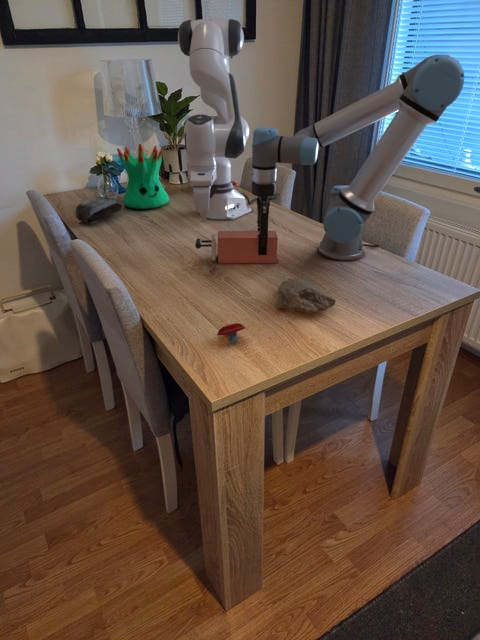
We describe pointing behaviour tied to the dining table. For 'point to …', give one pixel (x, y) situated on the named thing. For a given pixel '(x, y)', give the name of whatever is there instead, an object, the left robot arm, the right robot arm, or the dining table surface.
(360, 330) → the dining table surface
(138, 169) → the toy
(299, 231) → the dining table surface
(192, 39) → the left robot arm
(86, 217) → the rock
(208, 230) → the dining table surface
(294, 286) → the artifact
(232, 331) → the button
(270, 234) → the cabinet
